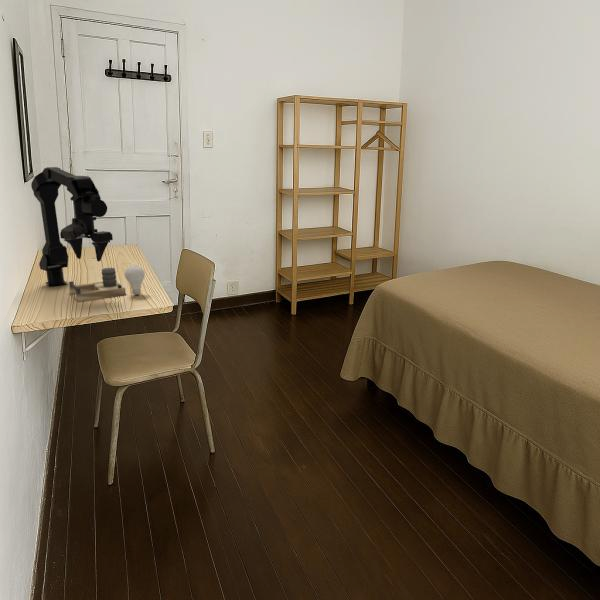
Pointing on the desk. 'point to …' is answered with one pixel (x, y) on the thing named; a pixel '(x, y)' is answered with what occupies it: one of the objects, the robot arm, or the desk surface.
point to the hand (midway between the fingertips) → (88, 260)
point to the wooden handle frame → (95, 291)
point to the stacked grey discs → (109, 277)
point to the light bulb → (135, 278)
